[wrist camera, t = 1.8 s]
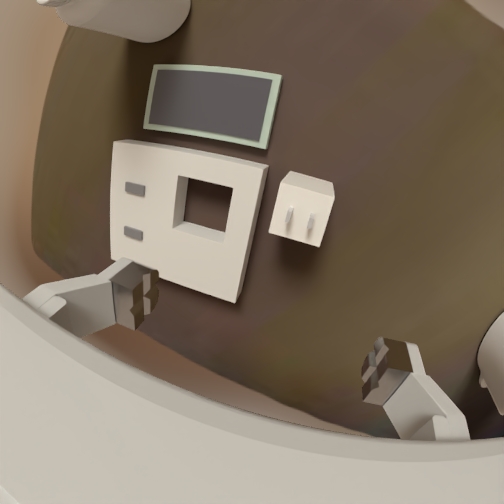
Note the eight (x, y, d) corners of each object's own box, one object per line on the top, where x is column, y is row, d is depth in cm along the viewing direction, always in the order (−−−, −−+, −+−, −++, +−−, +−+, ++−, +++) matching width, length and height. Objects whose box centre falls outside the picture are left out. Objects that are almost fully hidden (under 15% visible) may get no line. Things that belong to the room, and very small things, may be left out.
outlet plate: (269, 165, 26) (262, 169, 23) (241, 290, 32) (234, 304, 29) (127, 139, 28) (111, 141, 25) (123, 250, 34) (109, 259, 32)
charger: (332, 182, 25) (335, 201, 19) (321, 222, 27) (318, 253, 20) (290, 170, 25) (277, 185, 19) (280, 211, 27) (265, 238, 21)
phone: (283, 77, 22) (281, 74, 21) (268, 148, 26) (265, 149, 24) (161, 66, 24) (153, 64, 23) (150, 128, 27) (142, 128, 26)
